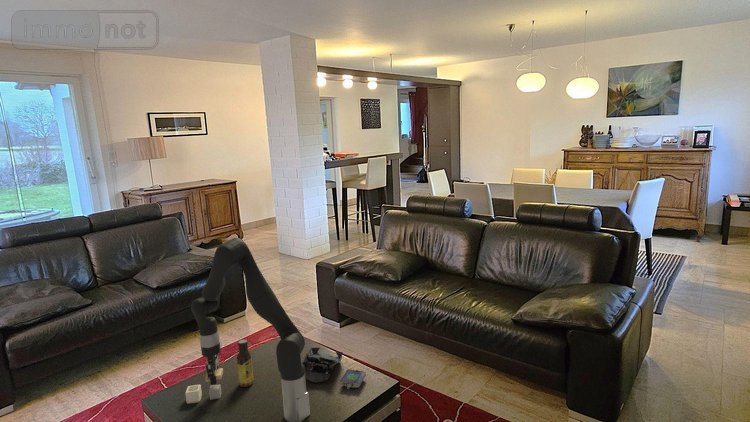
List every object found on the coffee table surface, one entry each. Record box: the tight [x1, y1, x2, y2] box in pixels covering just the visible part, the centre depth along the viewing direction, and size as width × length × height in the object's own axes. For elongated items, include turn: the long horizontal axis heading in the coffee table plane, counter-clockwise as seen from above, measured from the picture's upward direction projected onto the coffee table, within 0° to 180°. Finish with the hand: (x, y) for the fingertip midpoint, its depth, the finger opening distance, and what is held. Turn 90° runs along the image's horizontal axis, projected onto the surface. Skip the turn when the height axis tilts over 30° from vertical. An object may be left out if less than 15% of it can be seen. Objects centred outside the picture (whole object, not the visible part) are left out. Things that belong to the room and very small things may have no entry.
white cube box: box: [185, 384, 203, 405], centre depth 177 cm, size 5×5×5 cm
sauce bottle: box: [236, 339, 254, 388], centre depth 186 cm, size 6×6×20 cm
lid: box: [204, 367, 224, 383], centre depth 178 cm, size 6×6×3 cm
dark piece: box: [301, 346, 343, 384], centre depth 194 cm, size 18×20×9 cm
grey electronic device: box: [339, 368, 367, 390], centre depth 183 cm, size 9×3×11 cm
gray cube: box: [208, 384, 222, 401], centre depth 179 cm, size 4×4×4 cm
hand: (215, 379), depth 178 cm, fingers closed on lid, 6 cm apart
